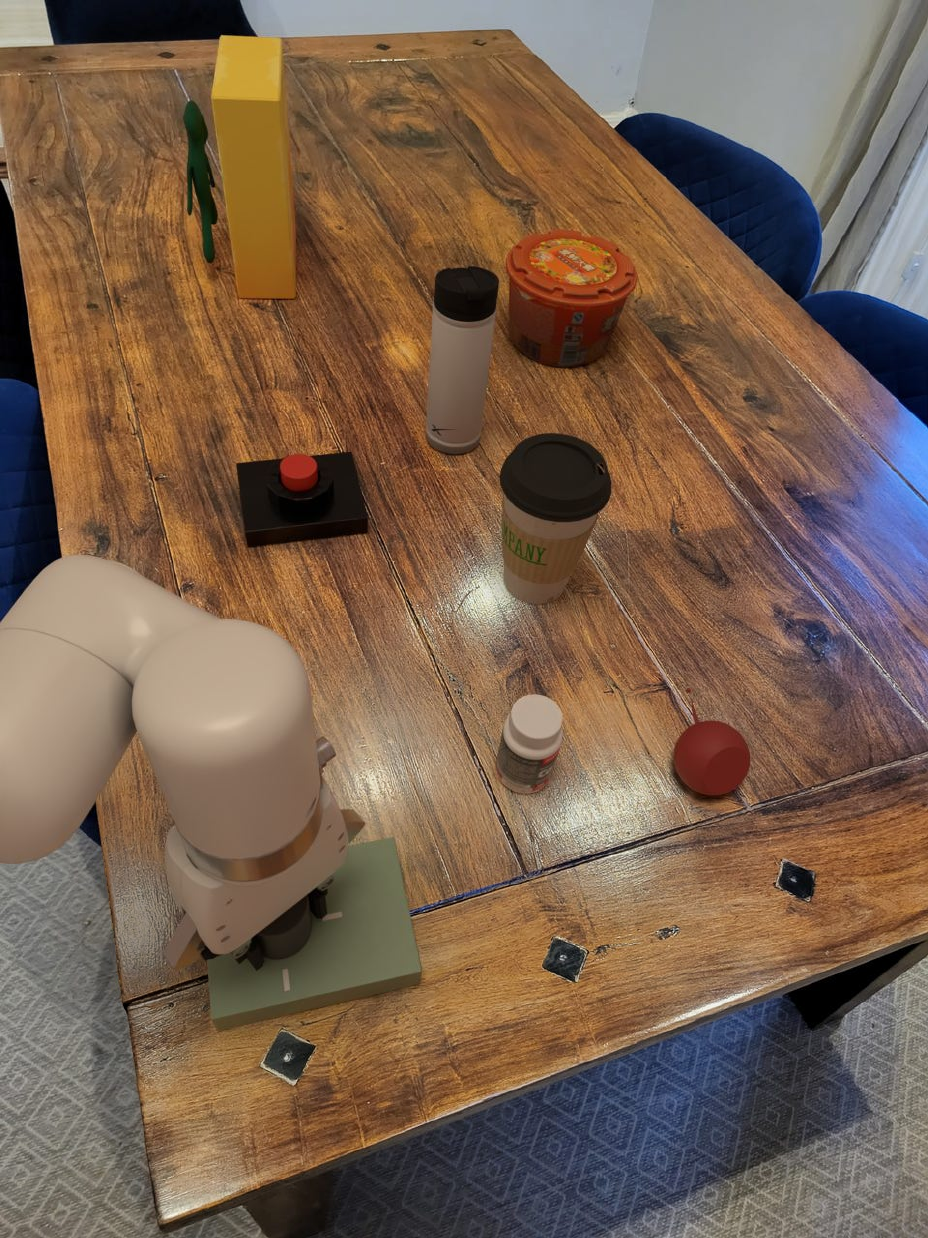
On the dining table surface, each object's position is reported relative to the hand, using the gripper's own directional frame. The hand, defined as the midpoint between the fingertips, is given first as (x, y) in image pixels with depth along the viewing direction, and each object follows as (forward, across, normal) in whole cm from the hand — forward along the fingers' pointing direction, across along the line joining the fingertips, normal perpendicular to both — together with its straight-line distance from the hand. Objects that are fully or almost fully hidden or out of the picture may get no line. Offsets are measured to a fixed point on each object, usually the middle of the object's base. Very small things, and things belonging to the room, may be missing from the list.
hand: (279, 924), depth 60 cm
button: (0, -27, -35) cm, 45 cm away
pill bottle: (+4, -23, +1) cm, 24 cm away
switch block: (+4, -27, -35) cm, 45 cm away
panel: (+4, -2, +1) cm, 4 cm away
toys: (+4, -49, -77) cm, 91 cm away
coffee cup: (+4, -39, -13) cm, 41 cm away
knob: (0, 0, 0) cm, 0 cm away
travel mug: (+4, -47, -34) cm, 58 cm away
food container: (+4, -71, -40) cm, 81 cm away
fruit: (+4, -35, +10) cm, 37 cm away
